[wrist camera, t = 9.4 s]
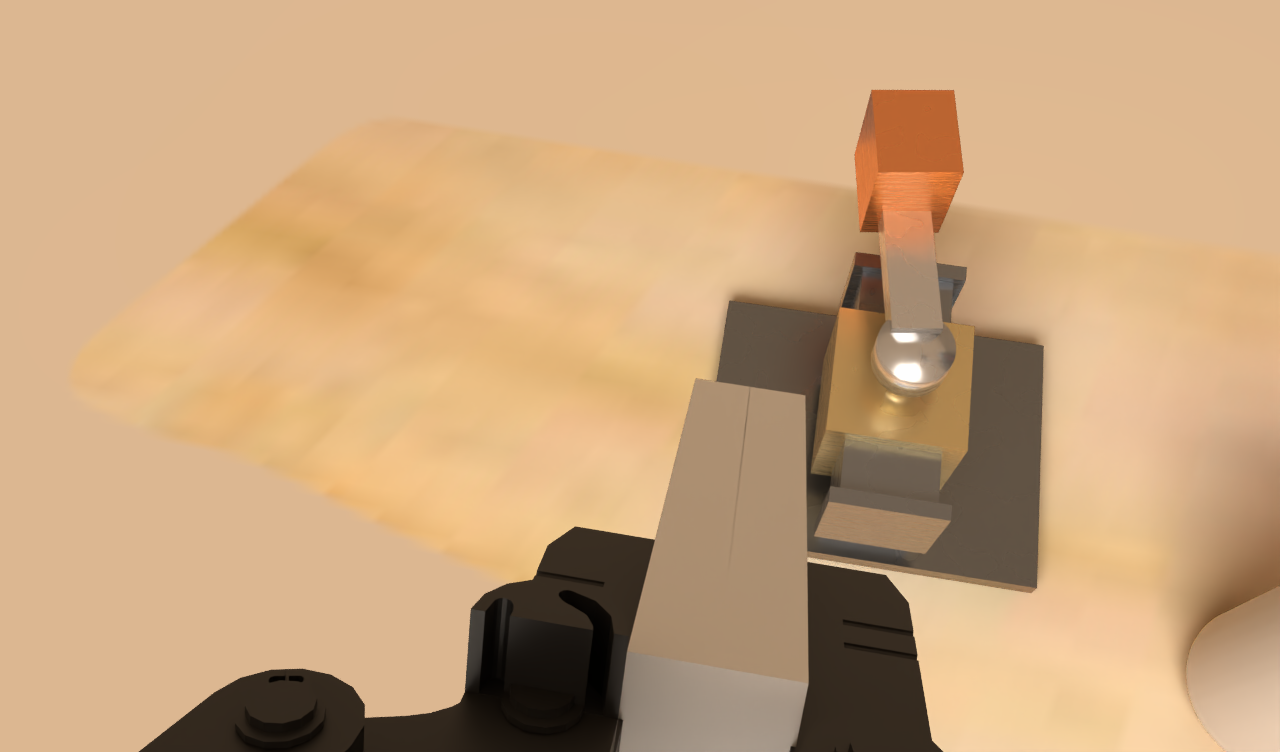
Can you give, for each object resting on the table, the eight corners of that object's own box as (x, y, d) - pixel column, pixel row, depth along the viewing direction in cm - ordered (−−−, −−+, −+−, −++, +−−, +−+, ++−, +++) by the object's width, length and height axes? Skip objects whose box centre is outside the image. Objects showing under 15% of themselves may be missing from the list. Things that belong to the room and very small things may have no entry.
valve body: (1038, 353, 51) (1100, 264, 44) (1030, 593, 46) (1099, 538, 39) (728, 308, 52) (739, 215, 45) (691, 538, 48) (698, 475, 40)
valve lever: (953, 397, 41) (984, 345, 37) (870, 396, 41) (892, 344, 37) (928, 159, 45) (953, 90, 41) (853, 158, 45) (871, 89, 42)
